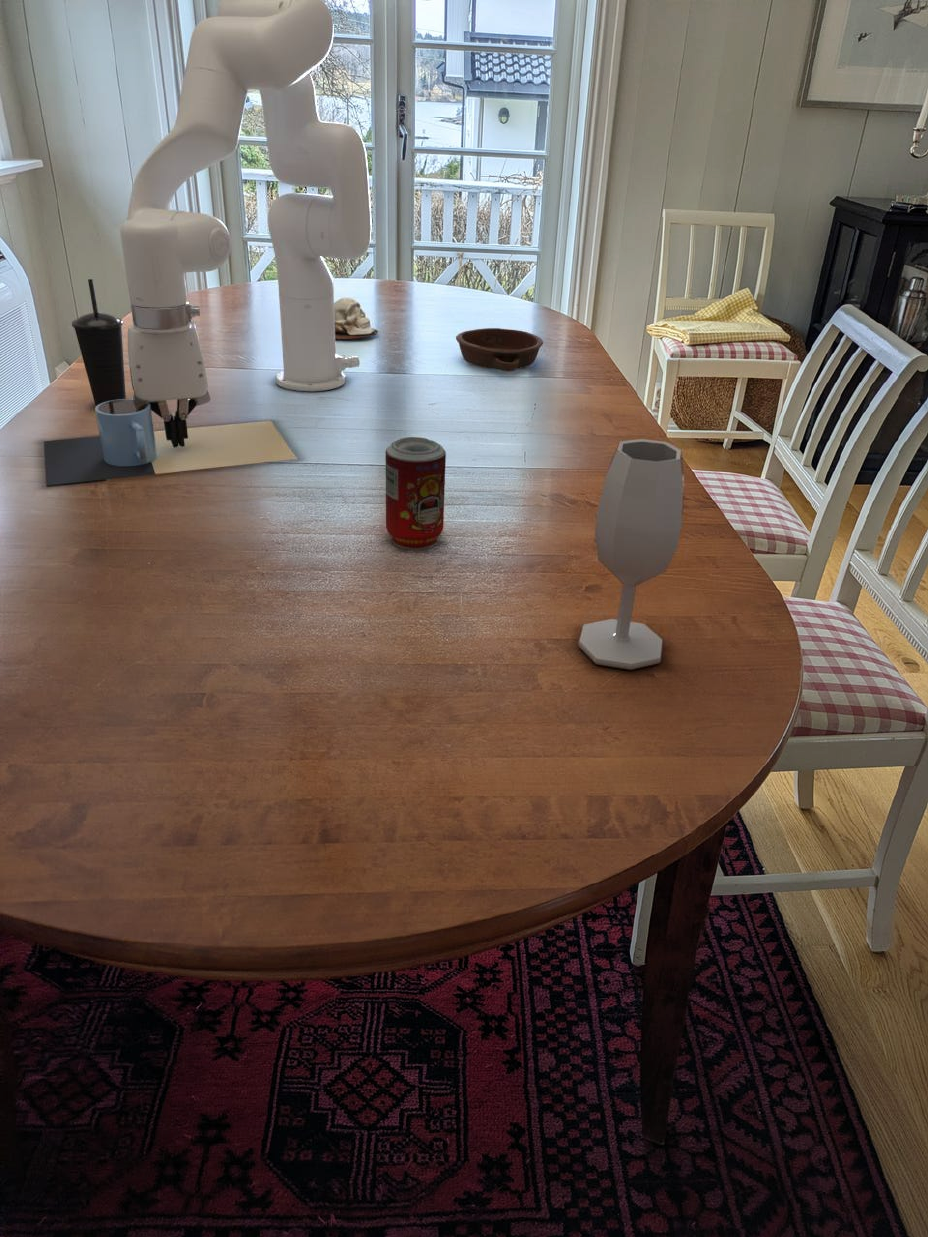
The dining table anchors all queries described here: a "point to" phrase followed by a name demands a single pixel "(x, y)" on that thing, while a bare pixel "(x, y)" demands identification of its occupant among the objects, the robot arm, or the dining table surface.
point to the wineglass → (635, 544)
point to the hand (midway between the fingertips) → (177, 443)
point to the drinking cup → (102, 352)
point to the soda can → (415, 492)
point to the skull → (351, 320)
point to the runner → (168, 453)
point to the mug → (126, 432)
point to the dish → (499, 348)
